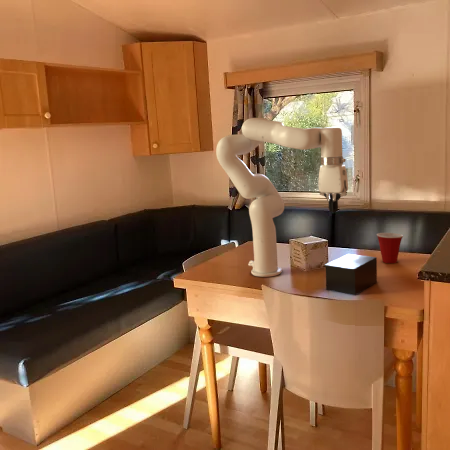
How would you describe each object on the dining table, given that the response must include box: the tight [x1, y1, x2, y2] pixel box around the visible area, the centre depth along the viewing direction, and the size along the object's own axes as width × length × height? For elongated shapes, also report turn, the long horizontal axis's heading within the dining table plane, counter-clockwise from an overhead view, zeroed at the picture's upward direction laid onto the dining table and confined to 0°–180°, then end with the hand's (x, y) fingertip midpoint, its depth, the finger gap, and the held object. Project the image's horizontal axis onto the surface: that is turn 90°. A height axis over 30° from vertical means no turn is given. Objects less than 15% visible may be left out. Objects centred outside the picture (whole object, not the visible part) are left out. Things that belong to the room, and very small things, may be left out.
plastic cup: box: [376, 232, 404, 264], centre depth 209 cm, size 11×11×12 cm
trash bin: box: [325, 259, 378, 296], centre depth 182 cm, size 17×12×9 cm
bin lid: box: [323, 253, 377, 271], centre depth 180 cm, size 17×12×1 cm, turn 138°
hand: (333, 211), depth 184 cm, fingers closed
